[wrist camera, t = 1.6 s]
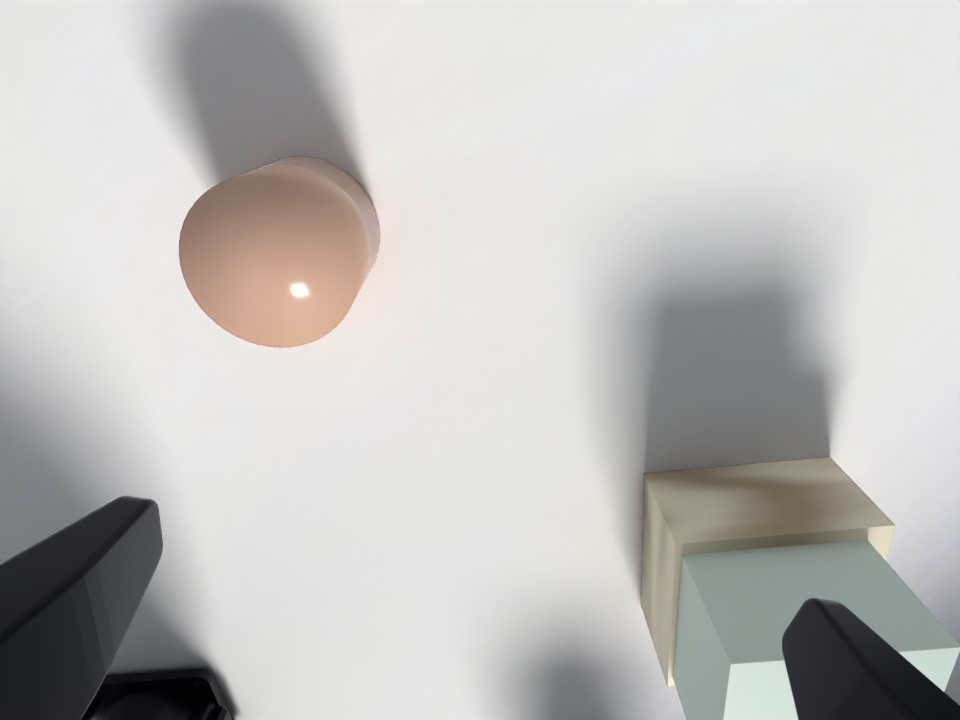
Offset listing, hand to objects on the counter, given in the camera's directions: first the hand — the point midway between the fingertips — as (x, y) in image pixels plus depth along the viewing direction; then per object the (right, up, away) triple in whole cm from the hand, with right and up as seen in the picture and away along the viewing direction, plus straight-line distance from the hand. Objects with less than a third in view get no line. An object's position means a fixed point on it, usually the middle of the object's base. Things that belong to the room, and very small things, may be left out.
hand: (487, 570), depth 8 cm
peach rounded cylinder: (-5, +7, +10) cm, 13 cm away
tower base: (+10, -4, +16) cm, 19 cm away
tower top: (+10, -6, +12) cm, 17 cm away
